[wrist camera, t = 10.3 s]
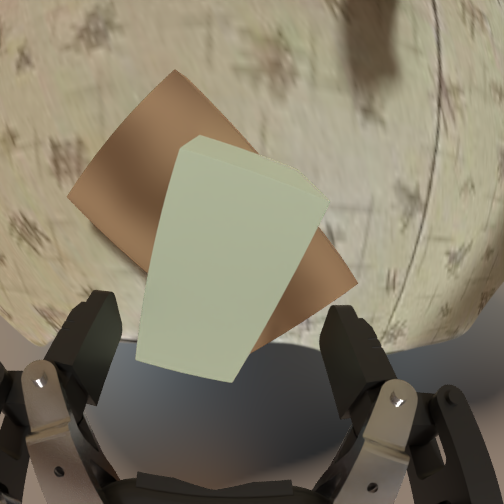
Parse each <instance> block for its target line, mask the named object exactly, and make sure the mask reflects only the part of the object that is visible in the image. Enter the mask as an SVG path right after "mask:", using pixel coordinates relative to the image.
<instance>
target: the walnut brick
mask: <svg viewBox="0 0 504 504" xmlns="http://www.w3.org/2000/svg"><path fill="white" fill-rule="evenodd" d="M199 135H202V136H205V137H208V138H211V139H215V140H218V141H221V142H224V143H227V144H230V145H233V146H236V147H239V148H242V149H245V150H247V151H250V152H253V153H256V154H258V152H257V151H256V150H255V149H254V148H253V147H252V146H251V145H250V143H249V142H248V141H247V140H246V139H245V138H244V137H243V136H242V135H241V133H240V132H239V131H238V130H237V129H236V128H235V127H234V126H233V125H232V124H231V123H230V122H229V120H228V119H227V118H226V117H225V116H224V115H223V114H222V113H221V112H220V111H219V110H218V109H217V108H216V107H215V106H214V105H213V104H212V103H211V102H210V100H209V99H208V98H207V97H206V96H205V95H204V94H203V93H202V92H201V91H200V90H199V89H198V88H197V87H196V86H195V85H194V84H193V83H192V82H191V81H190V80H189V79H188V78H186V77H185V76H184V75H182V74H181V73H179V72H178V71H177V70H174V71H173V72H171V73H170V74H169V75H168V76H167V77H166V78H165V79H164V80H163V81H162V82H161V83H160V84H159V85H158V86H156V87H155V88H154V89H153V90H152V91H151V92H150V93H149V94H148V95H147V96H146V97H145V98H144V99H143V101H142V102H141V103H140V104H139V105H138V106H137V107H136V108H135V109H134V110H133V111H132V112H131V113H130V114H129V116H128V117H127V118H126V119H125V120H124V121H123V122H122V123H121V125H120V126H119V127H118V128H117V129H116V130H115V132H114V133H113V134H112V135H111V136H110V138H109V139H108V140H107V141H106V143H105V144H104V145H103V146H102V148H101V149H100V150H99V151H98V153H97V154H96V155H95V157H94V158H93V159H92V161H91V162H90V163H89V165H88V166H87V168H86V169H85V170H84V172H83V173H82V175H81V176H80V178H79V179H78V180H77V182H76V183H75V185H74V186H73V188H72V189H71V191H70V193H69V194H68V196H67V198H68V199H69V200H70V201H71V202H72V203H73V204H74V205H75V206H76V207H77V208H78V209H79V210H80V211H81V212H82V213H83V214H84V215H85V216H86V217H87V218H88V219H89V220H90V221H91V222H92V223H93V224H94V225H95V226H96V227H97V228H98V229H99V230H100V231H101V232H102V233H103V234H104V235H106V236H107V237H108V238H109V239H110V240H111V241H112V242H113V243H114V244H115V245H116V246H117V247H118V248H119V249H121V250H122V251H123V252H124V253H125V254H126V255H127V256H128V257H129V258H131V259H132V260H133V261H134V262H135V263H136V264H137V265H138V266H140V267H141V268H142V269H143V270H144V271H145V272H146V273H148V271H149V266H150V261H151V256H152V251H153V247H154V242H155V238H156V233H157V229H158V225H159V221H160V216H161V212H162V209H163V205H164V201H165V197H166V193H167V190H168V186H169V182H170V179H171V175H172V172H173V169H174V165H175V162H176V159H177V156H178V152H179V149H180V148H181V147H182V146H183V145H185V144H186V143H188V142H189V141H191V140H192V139H194V138H196V137H197V136H199ZM357 284H358V282H357V281H356V279H355V277H354V276H353V274H352V273H351V271H350V270H349V268H348V266H347V265H346V263H345V262H344V260H343V259H342V257H341V256H340V254H339V253H338V252H337V250H336V249H335V248H334V246H333V245H332V244H331V242H330V241H329V240H328V238H327V237H326V236H325V234H324V233H323V232H322V231H321V229H320V228H319V227H318V228H317V230H316V232H315V234H314V236H313V238H312V240H311V242H310V244H309V246H308V248H307V250H306V252H305V254H304V255H303V257H302V259H301V261H300V263H299V265H298V267H297V269H296V271H295V273H294V275H293V276H292V278H291V280H290V282H289V284H288V286H287V288H286V290H285V291H284V293H283V295H282V297H281V299H280V301H279V302H278V304H277V306H276V308H275V310H274V311H273V313H272V315H271V317H270V319H269V320H268V322H267V324H266V326H265V328H264V329H263V331H262V333H261V335H260V336H259V338H258V340H257V342H256V343H255V345H254V347H253V348H252V350H251V352H250V353H252V352H254V351H255V350H257V349H259V348H260V347H262V346H264V345H266V344H267V343H269V342H271V341H272V340H274V339H276V338H277V337H279V336H281V335H282V334H284V333H285V332H287V331H289V330H290V329H292V328H293V327H295V326H297V325H298V324H300V323H301V322H303V321H304V320H306V319H307V318H309V317H310V316H312V315H314V314H315V313H317V312H318V311H320V310H321V309H323V308H324V307H325V306H327V305H328V304H330V303H331V302H333V301H334V300H336V299H337V298H339V297H340V296H341V295H343V294H344V293H346V292H347V291H348V290H350V289H351V288H353V287H354V286H355V285H357Z"/></svg>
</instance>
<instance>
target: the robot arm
mask: <svg viewBox="0 0 504 504" xmlns="http://www.w3.org/2000/svg"><path fill="white" fill-rule="evenodd" d="M121 335H122V322H121V318H120V314H119V310H118V306H117V302H116V298H115V295H114V293H113V292H109V291H100V290H94V291H93V292H92V293H91V295H90V296H89V298H88V299H87V301H86V302H81V303H80V304H78V305H77V306H76V307H75V308H73V309H72V311H71V312H70V314H69V316H68V317H67V319H66V321H65V322H64V324H63V325H62V329H60V331H59V332H58V334H57V336H56V338H55V339H54V341H53V343H52V345H51V347H50V348H49V350H48V352H47V354H46V356H45V358H44V359H43V360H36V361H33V362H32V363H30V364H29V365H28V366H27V367H26V368H25V369H24V371H7V370H6V369H5V367H4V366H3V365H2V363H1V362H0V414H1V411H2V412H3V413H4V414H5V417H4V420H3V423H2V426H1V429H0V504H22V497H23V490H24V484H25V478H26V473H27V468H28V463H29V458H30V459H31V462H32V465H33V468H34V471H35V473H36V476H37V479H38V482H39V484H40V487H41V490H42V492H43V494H44V497H45V499H46V501H47V504H394V501H395V499H396V497H397V494H398V492H399V489H400V486H401V484H402V482H403V479H404V476H405V473H406V470H407V472H408V476H409V481H410V484H411V489H412V494H413V499H414V504H503V501H502V496H501V492H500V489H499V485H498V481H497V478H496V475H495V471H494V468H493V465H492V462H491V459H490V456H489V453H488V451H487V448H486V445H485V442H484V440H483V437H482V435H481V432H480V430H479V427H478V425H477V423H476V420H475V418H474V415H473V413H472V411H471V409H470V406H469V404H468V402H467V400H466V398H465V396H464V394H463V393H462V391H461V390H460V389H459V388H457V387H455V386H453V385H444V386H442V387H441V388H440V389H439V390H438V391H437V392H436V393H435V394H431V393H418V392H416V391H415V389H414V388H413V387H412V386H411V385H410V384H409V383H407V382H405V381H403V380H399V379H397V377H396V375H395V373H394V371H393V368H392V366H391V364H390V362H389V360H388V358H387V356H386V354H385V352H384V350H383V348H381V344H380V342H379V340H377V336H376V334H375V332H374V330H373V328H372V327H371V326H370V325H369V324H368V323H367V322H366V321H365V320H364V319H363V318H358V317H357V315H356V313H355V311H354V309H353V307H352V306H351V305H332V306H331V307H330V308H329V311H328V314H327V317H326V320H325V323H324V326H323V328H322V331H321V334H320V340H319V345H320V351H321V354H322V357H323V361H324V364H325V367H326V371H327V374H328V378H329V381H330V385H331V388H332V392H333V395H334V399H335V402H336V406H337V409H338V413H339V417H340V419H346V418H351V420H352V423H353V424H352V425H351V426H350V428H349V430H348V432H347V434H346V436H345V438H344V440H343V442H342V444H341V446H340V448H339V450H338V451H337V453H336V455H335V457H334V459H333V461H332V462H331V464H330V466H329V467H328V469H327V470H326V471H325V472H324V473H323V475H322V476H321V477H320V479H319V480H318V481H317V483H316V484H315V486H314V488H313V489H312V490H309V489H306V488H302V487H297V486H292V481H291V480H282V481H267V482H252V483H248V484H244V485H239V486H234V487H229V488H224V489H218V490H210V489H207V488H204V487H200V486H197V485H194V484H190V483H187V482H184V481H181V480H178V479H176V478H171V477H164V476H158V475H152V474H147V473H142V472H137V478H130V479H123V480H120V478H119V476H118V475H117V473H116V471H115V470H114V468H113V467H112V465H111V464H110V463H109V461H108V460H107V459H106V457H105V455H104V454H103V452H102V450H101V448H100V445H99V443H98V441H97V439H96V437H95V435H94V433H93V430H92V428H91V426H90V423H89V421H88V418H87V416H86V414H85V412H84V409H85V406H86V404H90V405H94V406H97V404H98V401H99V397H100V394H101V391H102V388H103V385H104V382H105V379H106V377H107V374H108V371H109V368H110V365H111V362H112V360H113V357H114V354H115V352H116V349H117V346H118V344H119V341H120V339H121ZM438 435H439V437H440V440H441V443H442V446H443V449H444V452H445V455H446V464H445V465H444V463H443V460H442V456H441V454H440V450H439V447H438V444H437V441H436V438H435V437H436V436H438Z"/></svg>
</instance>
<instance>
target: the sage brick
mask: <svg viewBox="0 0 504 504" xmlns="http://www.w3.org/2000/svg"><path fill="white" fill-rule="evenodd" d="M329 203H330V201H329V200H328V199H327V198H326V197H325V196H324V195H323V194H322V193H321V192H320V191H319V190H318V189H317V188H316V187H315V186H314V185H313V184H312V183H311V182H310V181H309V180H308V179H307V178H306V177H305V176H304V175H303V174H302V173H301V172H300V171H299V170H297V169H295V168H292V167H290V166H287V165H285V164H282V163H280V162H277V161H275V160H272V159H269V158H267V157H264V156H261V155H259V154H256V153H253V152H250V151H247V150H245V149H242V148H239V147H236V146H233V145H230V144H227V143H224V142H221V141H218V140H215V139H211V138H208V137H205V136H202V135H199V136H197V137H196V138H194V139H192V140H191V141H189V142H188V143H186V144H185V145H183V146H182V147H181V148H180V149H179V152H178V156H177V159H176V162H175V165H174V169H173V172H172V175H171V179H170V182H169V186H168V190H167V193H166V197H165V201H164V205H163V209H162V212H161V216H160V221H159V225H158V229H157V233H156V238H155V242H154V247H153V251H152V256H151V261H150V266H149V271H148V276H147V282H146V287H145V293H144V299H143V305H142V311H141V318H140V325H139V333H138V340H137V349H136V358H135V360H138V361H141V362H145V363H148V364H151V365H155V366H158V367H162V368H166V369H170V370H174V371H178V372H182V373H186V374H190V375H195V376H199V377H205V378H209V379H214V380H219V381H224V382H230V383H232V382H233V381H234V379H235V377H236V376H237V374H238V372H239V371H240V369H241V367H242V366H243V364H244V362H245V360H246V359H247V357H248V355H249V354H250V352H251V350H252V348H253V347H254V345H255V343H256V342H257V340H258V338H259V336H260V335H261V333H262V331H263V329H264V328H265V326H266V324H267V322H268V320H269V319H270V317H271V315H272V313H273V311H274V310H275V308H276V306H277V304H278V302H279V301H280V299H281V297H282V295H283V293H284V291H285V290H286V288H287V286H288V284H289V282H290V280H291V278H292V276H293V275H294V273H295V271H296V269H297V267H298V265H299V263H300V261H301V259H302V257H303V255H304V254H305V252H306V250H307V248H308V246H309V244H310V242H311V240H312V238H313V236H314V234H315V232H316V230H317V228H318V226H319V224H320V222H321V220H322V218H323V216H324V214H325V212H326V210H327V208H328V206H329Z"/></svg>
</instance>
